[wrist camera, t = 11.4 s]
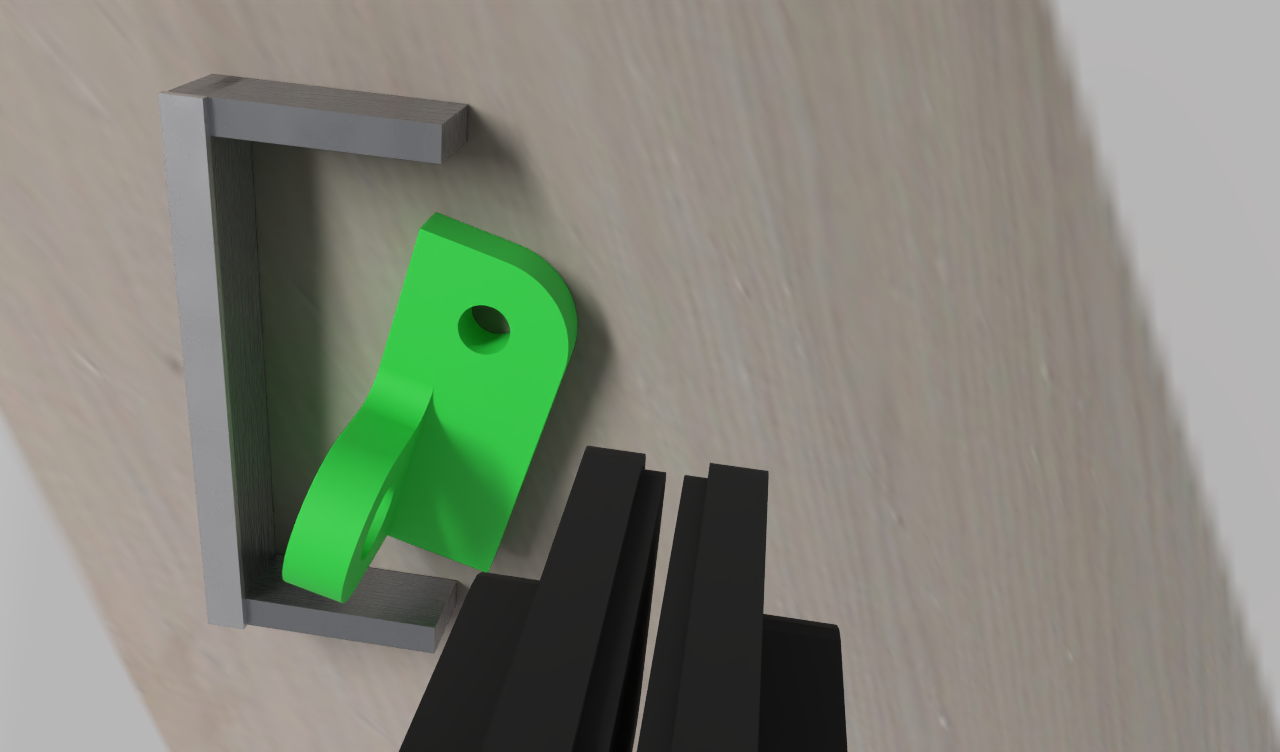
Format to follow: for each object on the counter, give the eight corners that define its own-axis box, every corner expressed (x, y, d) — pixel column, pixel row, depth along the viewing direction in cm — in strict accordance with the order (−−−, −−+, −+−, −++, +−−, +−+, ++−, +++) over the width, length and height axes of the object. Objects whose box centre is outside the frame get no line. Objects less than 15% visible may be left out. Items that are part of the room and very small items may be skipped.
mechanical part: (500, 543, 44) (443, 679, 37) (355, 488, 44) (268, 615, 36) (601, 275, 39) (558, 373, 31) (437, 210, 38) (355, 294, 31)
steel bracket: (208, 73, 37) (158, 92, 34) (467, 104, 36) (438, 127, 33) (246, 573, 46) (208, 623, 43) (455, 605, 45) (432, 658, 42)
